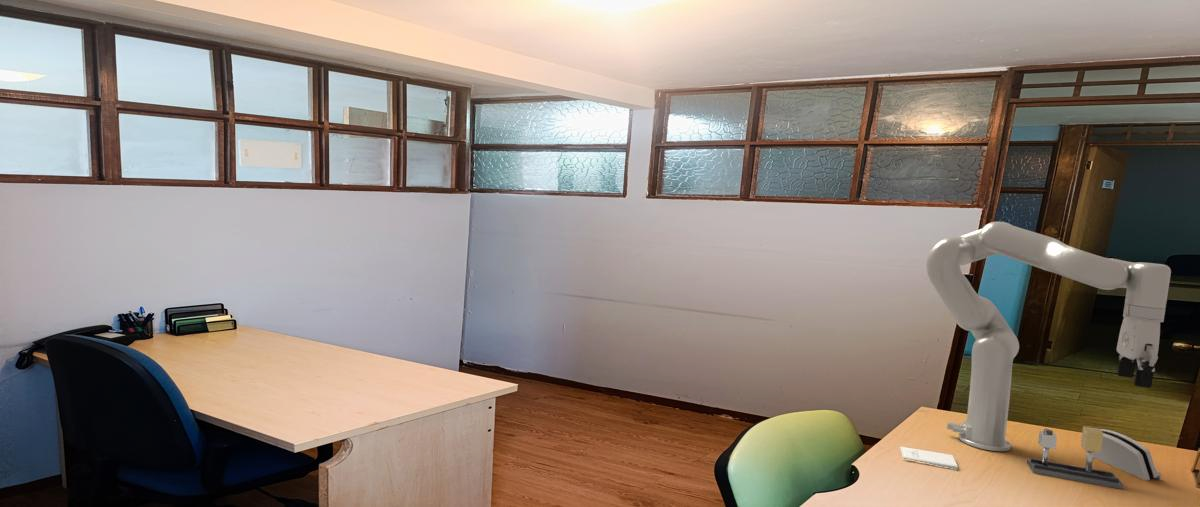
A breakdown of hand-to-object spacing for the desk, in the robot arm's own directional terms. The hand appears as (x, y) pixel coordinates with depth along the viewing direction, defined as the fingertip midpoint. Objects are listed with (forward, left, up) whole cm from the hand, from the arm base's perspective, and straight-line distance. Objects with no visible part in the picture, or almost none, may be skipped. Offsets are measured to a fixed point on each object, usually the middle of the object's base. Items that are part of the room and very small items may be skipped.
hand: (1133, 381), depth 153 cm
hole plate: (-11, -5, -25) cm, 28 cm away
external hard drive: (-44, -13, -26) cm, 53 cm away
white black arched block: (+2, +9, -25) cm, 27 cm away
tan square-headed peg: (-8, -5, -23) cm, 25 cm away
